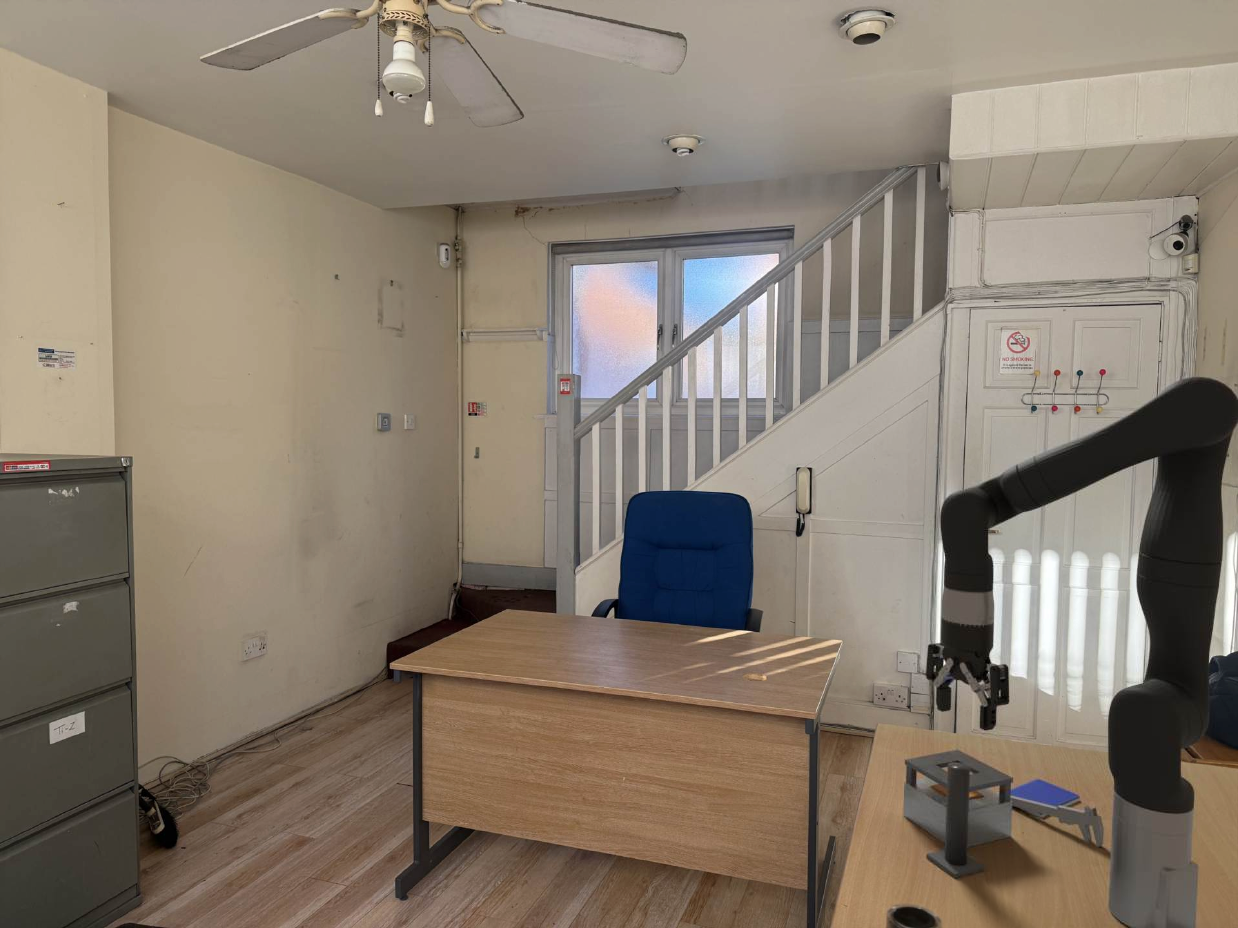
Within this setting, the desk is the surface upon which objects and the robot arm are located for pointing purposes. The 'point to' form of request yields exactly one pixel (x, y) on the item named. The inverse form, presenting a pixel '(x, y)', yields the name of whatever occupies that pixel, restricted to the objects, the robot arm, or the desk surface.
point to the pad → (955, 870)
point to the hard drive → (1044, 794)
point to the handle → (957, 813)
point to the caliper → (1068, 817)
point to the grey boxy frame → (985, 813)
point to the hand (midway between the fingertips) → (964, 719)
